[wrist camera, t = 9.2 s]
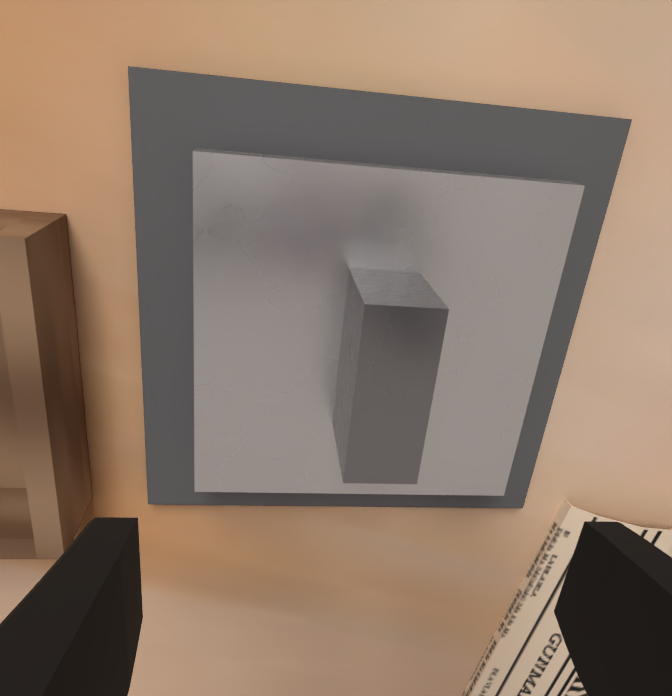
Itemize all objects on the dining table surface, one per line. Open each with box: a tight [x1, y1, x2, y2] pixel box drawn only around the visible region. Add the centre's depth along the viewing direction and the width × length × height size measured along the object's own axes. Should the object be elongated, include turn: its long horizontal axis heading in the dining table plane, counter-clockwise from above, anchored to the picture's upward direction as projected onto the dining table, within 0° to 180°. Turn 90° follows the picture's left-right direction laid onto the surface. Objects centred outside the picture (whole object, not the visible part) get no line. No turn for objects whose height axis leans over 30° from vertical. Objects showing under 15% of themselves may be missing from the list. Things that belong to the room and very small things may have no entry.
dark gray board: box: [128, 66, 632, 508], centre depth 19 cm, size 14×14×1 cm
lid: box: [193, 148, 585, 496], centre depth 16 cm, size 10×10×5 cm
